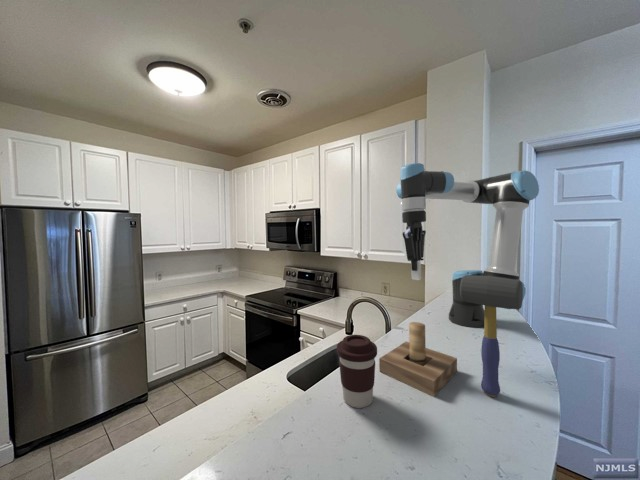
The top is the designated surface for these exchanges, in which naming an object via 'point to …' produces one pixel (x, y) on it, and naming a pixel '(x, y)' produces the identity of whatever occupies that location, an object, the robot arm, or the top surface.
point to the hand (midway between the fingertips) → (416, 279)
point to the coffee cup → (357, 369)
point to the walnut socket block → (419, 369)
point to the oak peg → (417, 343)
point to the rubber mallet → (491, 318)
